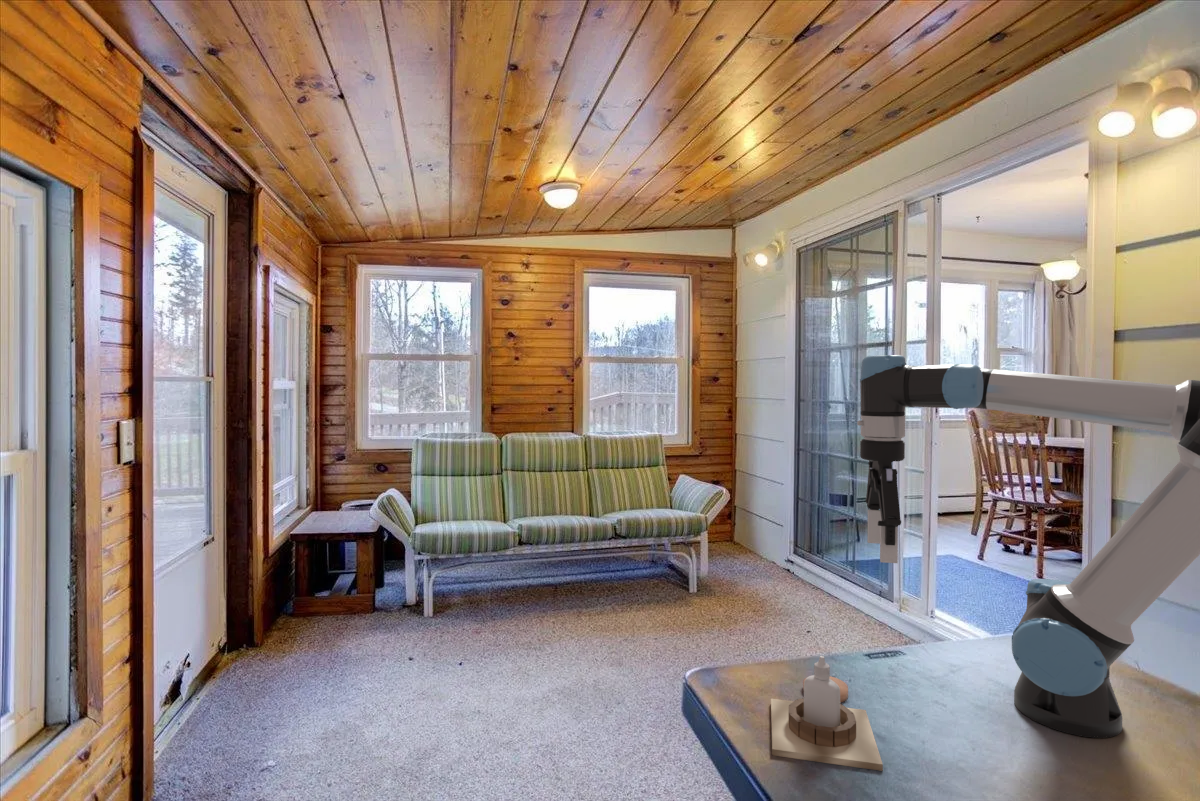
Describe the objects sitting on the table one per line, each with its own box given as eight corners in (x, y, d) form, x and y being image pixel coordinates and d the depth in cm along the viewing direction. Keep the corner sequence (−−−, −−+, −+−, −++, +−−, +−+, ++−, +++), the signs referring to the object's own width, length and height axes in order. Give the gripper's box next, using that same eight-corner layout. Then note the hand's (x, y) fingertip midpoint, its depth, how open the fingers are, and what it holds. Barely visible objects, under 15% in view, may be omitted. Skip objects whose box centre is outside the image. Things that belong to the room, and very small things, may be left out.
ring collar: (865, 715, 108) (865, 695, 108) (882, 770, 93) (882, 748, 93) (770, 704, 112) (771, 685, 112) (772, 755, 97) (772, 733, 97)
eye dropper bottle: (821, 717, 106) (822, 648, 106) (844, 734, 101) (844, 662, 100) (800, 721, 105) (800, 651, 104) (821, 739, 99) (821, 666, 99)
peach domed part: (826, 679, 122) (826, 671, 122) (857, 698, 114) (857, 689, 114) (794, 688, 119) (793, 680, 119) (824, 708, 111) (824, 699, 111)
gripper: (851, 433, 128) (850, 535, 128) (871, 444, 104) (871, 570, 104) (890, 433, 126) (890, 537, 126) (921, 445, 102) (920, 573, 102)
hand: (881, 552), depth 115 cm, fingers open, 13 cm apart
